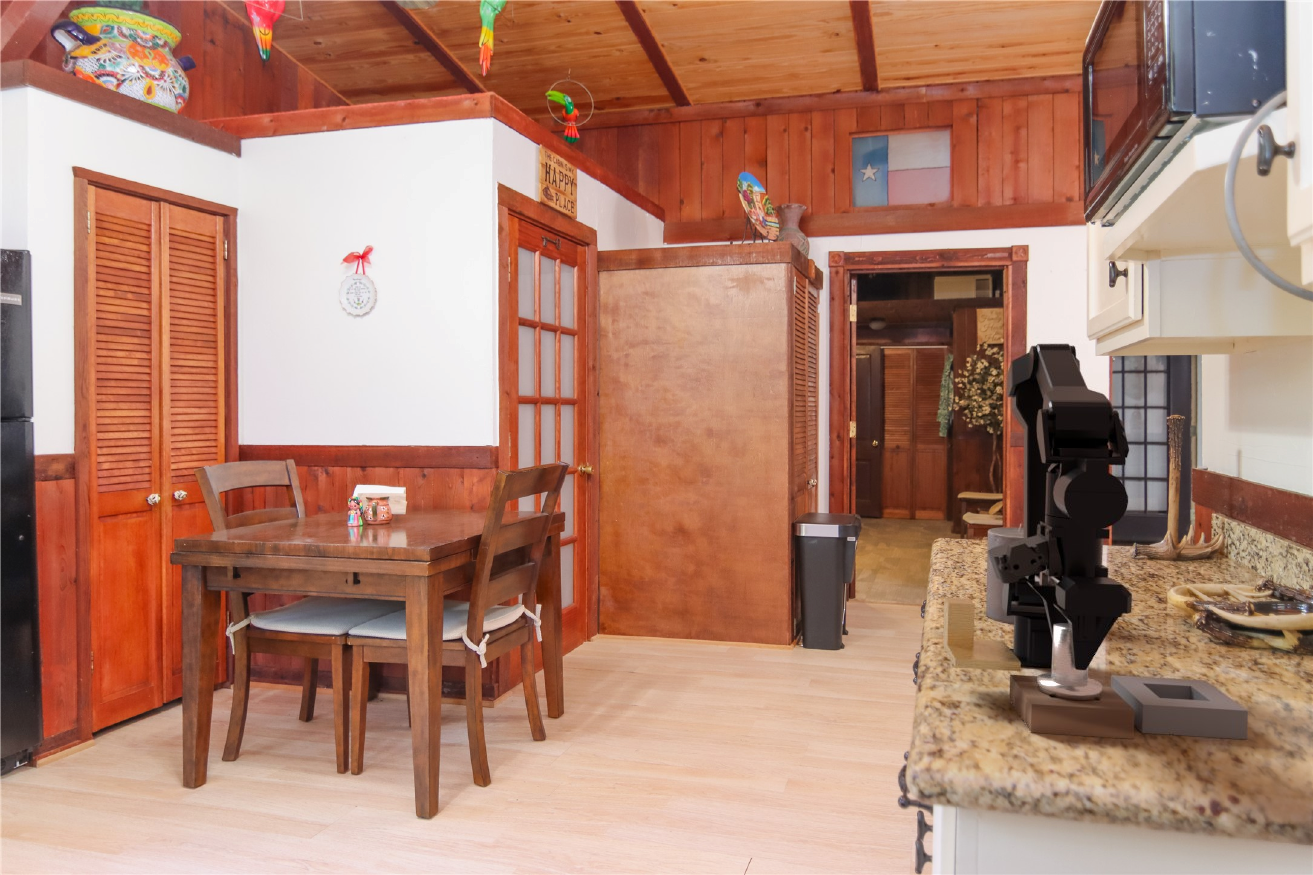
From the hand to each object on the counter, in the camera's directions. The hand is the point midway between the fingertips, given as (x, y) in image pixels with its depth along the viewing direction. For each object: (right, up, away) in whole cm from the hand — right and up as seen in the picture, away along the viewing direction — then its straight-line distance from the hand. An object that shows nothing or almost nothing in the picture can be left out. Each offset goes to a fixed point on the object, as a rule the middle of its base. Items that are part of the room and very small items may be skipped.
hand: (1069, 658), depth 98 cm
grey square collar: (+12, -7, 0) cm, 13 cm away
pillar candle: (+12, -5, +45) cm, 47 cm away
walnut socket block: (0, -7, 0) cm, 6 cm away
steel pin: (0, -7, 0) cm, 6 cm away
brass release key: (-7, -2, +8) cm, 11 cm away
